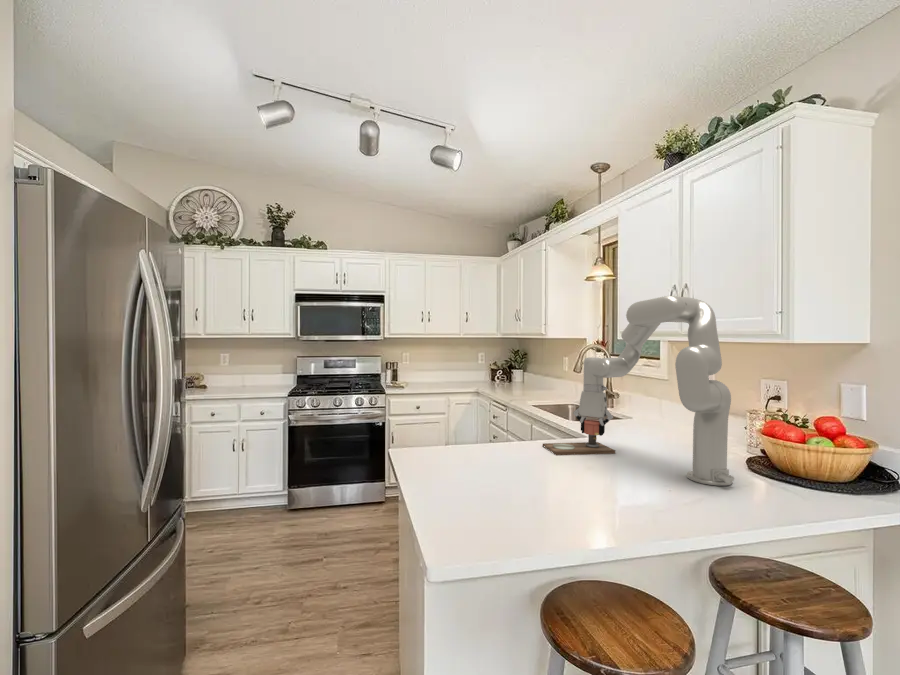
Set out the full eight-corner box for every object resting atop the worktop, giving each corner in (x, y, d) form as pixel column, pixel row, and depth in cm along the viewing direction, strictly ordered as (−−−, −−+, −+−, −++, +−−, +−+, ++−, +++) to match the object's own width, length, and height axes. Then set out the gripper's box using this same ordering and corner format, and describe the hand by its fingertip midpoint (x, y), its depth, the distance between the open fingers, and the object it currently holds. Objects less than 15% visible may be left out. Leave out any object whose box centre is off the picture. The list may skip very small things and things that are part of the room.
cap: (604, 435, 181) (605, 422, 181) (589, 435, 180) (589, 422, 180) (595, 431, 189) (595, 418, 189) (580, 431, 188) (580, 419, 188)
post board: (615, 453, 179) (615, 427, 179) (556, 455, 174) (556, 428, 174) (597, 445, 192) (598, 420, 192) (542, 446, 188) (543, 421, 188)
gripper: (618, 389, 182) (617, 435, 183) (575, 386, 192) (574, 429, 192) (612, 391, 176) (611, 438, 176) (568, 387, 186) (567, 432, 186)
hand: (592, 433), depth 184 cm, fingers closed on cap, 6 cm apart
